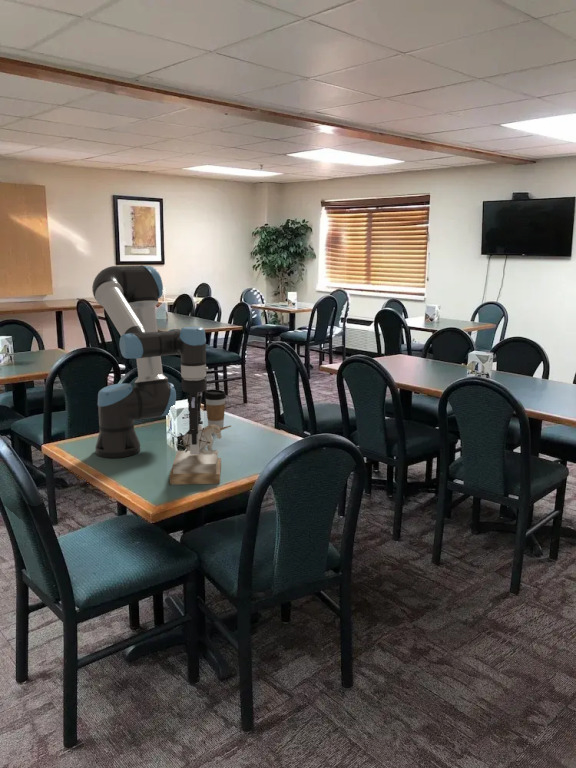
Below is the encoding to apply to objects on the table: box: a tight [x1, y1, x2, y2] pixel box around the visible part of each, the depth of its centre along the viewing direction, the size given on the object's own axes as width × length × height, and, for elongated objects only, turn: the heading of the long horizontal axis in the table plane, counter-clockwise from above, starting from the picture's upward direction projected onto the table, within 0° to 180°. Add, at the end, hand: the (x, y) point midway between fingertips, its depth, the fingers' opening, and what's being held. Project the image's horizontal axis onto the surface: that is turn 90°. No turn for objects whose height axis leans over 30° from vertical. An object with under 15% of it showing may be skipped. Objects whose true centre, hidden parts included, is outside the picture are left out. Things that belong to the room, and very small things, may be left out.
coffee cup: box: [204, 388, 227, 428], centre depth 246 cm, size 8×8×15 cm
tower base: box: [169, 449, 222, 486], centre depth 195 cm, size 15×15×6 cm
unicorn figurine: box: [201, 424, 232, 450], centre depth 210 cm, size 7×20×13 cm, turn 37°
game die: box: [178, 427, 210, 454], centre depth 193 cm, size 9×8×10 cm
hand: (195, 449), depth 194 cm, fingers closed on game die, 8 cm apart
